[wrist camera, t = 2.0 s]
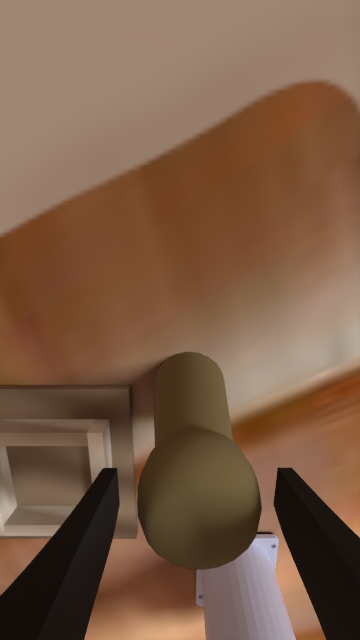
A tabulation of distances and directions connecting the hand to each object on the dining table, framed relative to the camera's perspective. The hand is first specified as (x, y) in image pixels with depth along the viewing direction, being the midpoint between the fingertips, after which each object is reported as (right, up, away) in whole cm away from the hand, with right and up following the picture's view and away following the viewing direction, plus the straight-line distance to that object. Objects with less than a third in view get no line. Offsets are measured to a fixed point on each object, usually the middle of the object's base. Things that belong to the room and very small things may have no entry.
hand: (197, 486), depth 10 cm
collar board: (-12, -6, +10) cm, 17 cm away
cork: (0, +2, +9) cm, 9 cm away
